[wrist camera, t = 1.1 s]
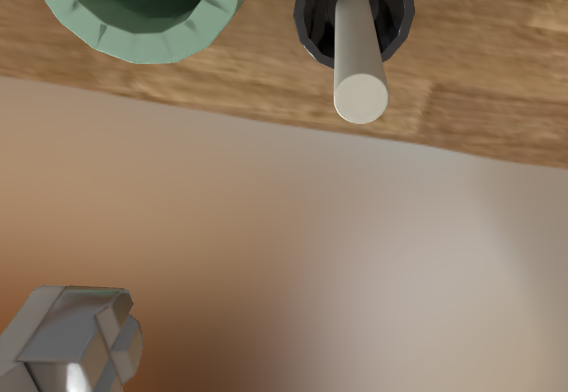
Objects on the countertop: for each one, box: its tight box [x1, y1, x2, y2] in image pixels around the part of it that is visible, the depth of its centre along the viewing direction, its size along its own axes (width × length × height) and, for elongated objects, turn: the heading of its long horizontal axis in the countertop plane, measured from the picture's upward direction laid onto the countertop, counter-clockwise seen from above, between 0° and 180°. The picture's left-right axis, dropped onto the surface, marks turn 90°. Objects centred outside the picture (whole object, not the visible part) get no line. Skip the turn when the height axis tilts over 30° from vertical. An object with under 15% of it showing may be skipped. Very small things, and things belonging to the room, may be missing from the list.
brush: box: [326, 0, 389, 124], centre depth 23 cm, size 3×3×17 cm
